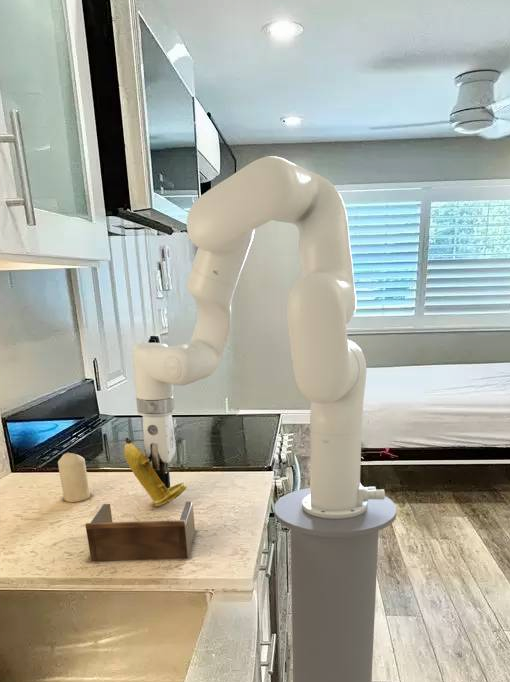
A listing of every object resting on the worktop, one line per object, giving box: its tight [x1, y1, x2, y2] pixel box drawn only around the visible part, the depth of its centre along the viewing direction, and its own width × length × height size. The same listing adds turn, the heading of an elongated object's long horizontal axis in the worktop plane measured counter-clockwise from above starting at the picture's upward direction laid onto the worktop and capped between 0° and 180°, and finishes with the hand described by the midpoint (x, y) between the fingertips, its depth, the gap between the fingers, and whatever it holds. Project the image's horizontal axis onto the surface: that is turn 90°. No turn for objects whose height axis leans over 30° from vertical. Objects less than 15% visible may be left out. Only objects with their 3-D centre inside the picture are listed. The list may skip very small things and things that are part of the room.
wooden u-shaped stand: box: [85, 501, 196, 562], centre depth 101 cm, size 16×11×7 cm
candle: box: [57, 452, 91, 503], centre depth 124 cm, size 6×6×10 cm
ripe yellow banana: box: [123, 437, 187, 507], centre depth 117 cm, size 12×8×15 cm
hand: (162, 489), depth 124 cm, fingers closed
